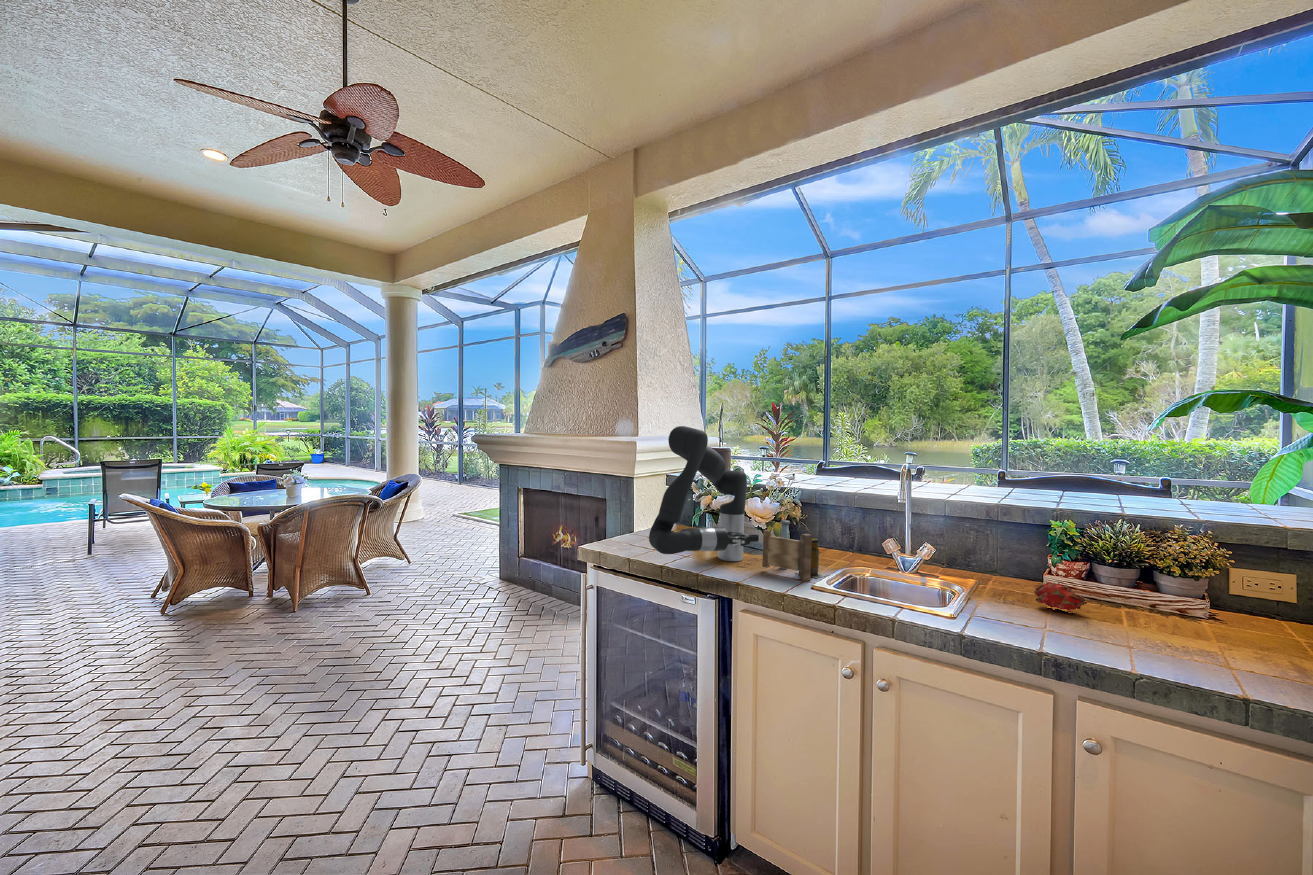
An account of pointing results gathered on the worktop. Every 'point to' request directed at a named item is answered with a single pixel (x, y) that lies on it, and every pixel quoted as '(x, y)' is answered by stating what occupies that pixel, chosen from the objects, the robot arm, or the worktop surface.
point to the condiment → (815, 560)
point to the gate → (781, 552)
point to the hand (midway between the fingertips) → (757, 537)
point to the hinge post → (805, 557)
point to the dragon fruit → (1058, 596)
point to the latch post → (784, 530)
